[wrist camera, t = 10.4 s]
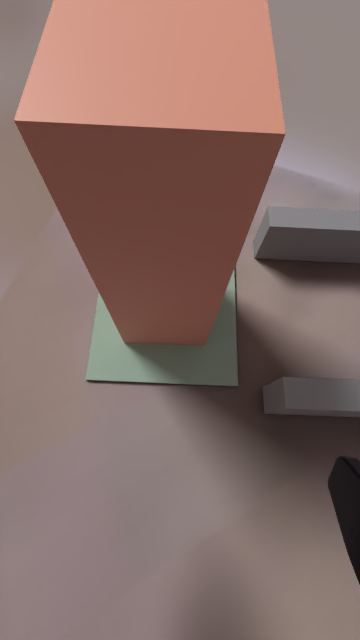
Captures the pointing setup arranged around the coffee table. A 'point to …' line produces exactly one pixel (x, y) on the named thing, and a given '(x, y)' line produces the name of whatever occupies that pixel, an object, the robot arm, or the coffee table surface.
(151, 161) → the salmon-pink block
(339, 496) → the robot arm
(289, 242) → the grey parallel walls
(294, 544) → the coffee table surface
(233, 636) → the coffee table surface
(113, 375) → the sage mat
